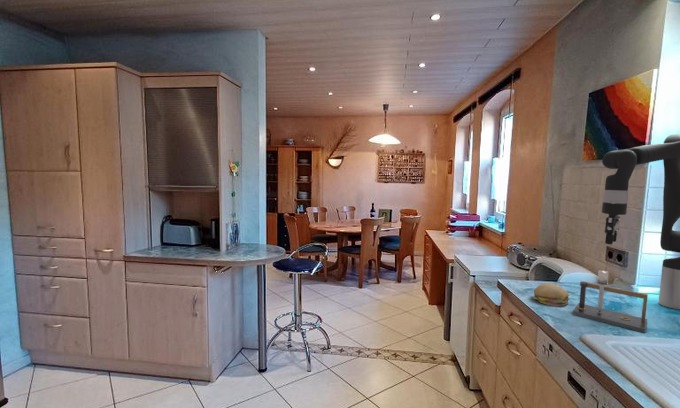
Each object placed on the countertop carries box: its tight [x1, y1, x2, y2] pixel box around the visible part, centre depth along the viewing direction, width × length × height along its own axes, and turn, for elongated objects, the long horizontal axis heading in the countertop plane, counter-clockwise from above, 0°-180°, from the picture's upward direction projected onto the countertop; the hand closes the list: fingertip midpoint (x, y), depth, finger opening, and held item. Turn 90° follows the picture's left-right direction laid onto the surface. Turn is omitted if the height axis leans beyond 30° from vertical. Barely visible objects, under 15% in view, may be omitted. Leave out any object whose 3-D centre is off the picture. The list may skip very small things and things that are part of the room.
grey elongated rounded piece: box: [596, 269, 609, 312], centre depth 136 cm, size 5×3×17 cm
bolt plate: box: [572, 280, 649, 334], centre depth 134 cm, size 12×22×12 cm, turn 45°
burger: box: [532, 282, 570, 308], centre depth 151 cm, size 13×14×8 cm
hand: (610, 242), depth 133 cm, fingers open, 8 cm apart
